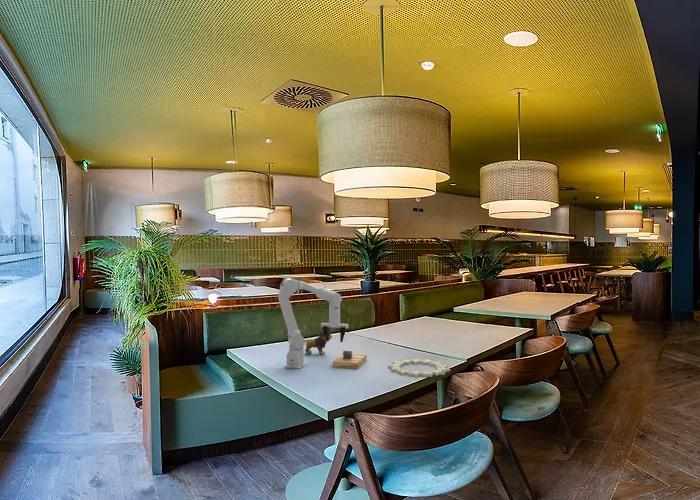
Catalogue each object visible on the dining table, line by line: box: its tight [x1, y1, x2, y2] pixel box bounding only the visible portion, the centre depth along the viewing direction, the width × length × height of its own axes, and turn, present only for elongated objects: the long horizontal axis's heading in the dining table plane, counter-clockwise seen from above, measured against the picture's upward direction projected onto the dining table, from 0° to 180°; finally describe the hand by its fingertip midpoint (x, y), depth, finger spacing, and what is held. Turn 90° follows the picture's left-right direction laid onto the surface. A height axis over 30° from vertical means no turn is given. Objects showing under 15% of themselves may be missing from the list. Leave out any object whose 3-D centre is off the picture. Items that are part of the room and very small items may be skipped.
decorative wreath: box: [387, 358, 451, 378], centre depth 217 cm, size 30×2×30 cm
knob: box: [342, 349, 353, 359], centre depth 227 cm, size 5×5×7 cm
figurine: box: [304, 328, 334, 355], centre depth 249 cm, size 7×22×15 cm, turn 78°
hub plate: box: [332, 352, 368, 370], centre depth 228 cm, size 18×13×3 cm
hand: (334, 341), depth 232 cm, fingers open, 7 cm apart
